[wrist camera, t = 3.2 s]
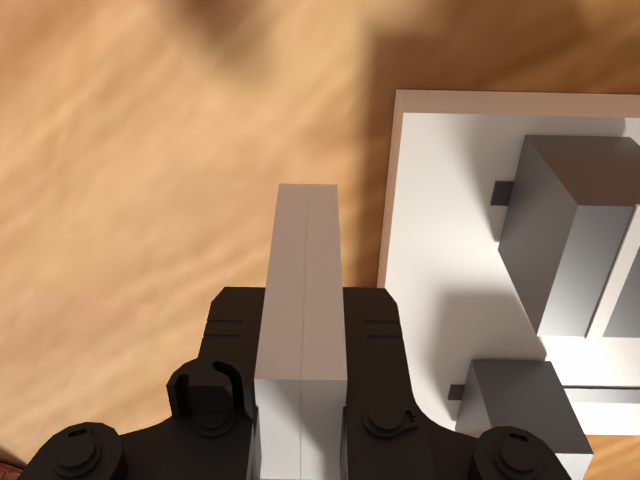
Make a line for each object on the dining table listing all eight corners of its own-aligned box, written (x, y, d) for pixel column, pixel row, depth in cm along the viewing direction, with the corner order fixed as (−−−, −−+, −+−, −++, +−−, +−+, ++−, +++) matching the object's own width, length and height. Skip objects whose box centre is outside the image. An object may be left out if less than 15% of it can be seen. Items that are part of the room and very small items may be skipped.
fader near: (630, 135, 16) (713, 207, 13) (589, 252, 18) (649, 341, 15) (525, 133, 16) (580, 204, 12) (497, 251, 18) (536, 339, 15)
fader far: (551, 360, 21) (595, 455, 18) (526, 430, 23) (561, 526, 20) (471, 358, 21) (499, 453, 18) (454, 428, 23) (477, 525, 20)
